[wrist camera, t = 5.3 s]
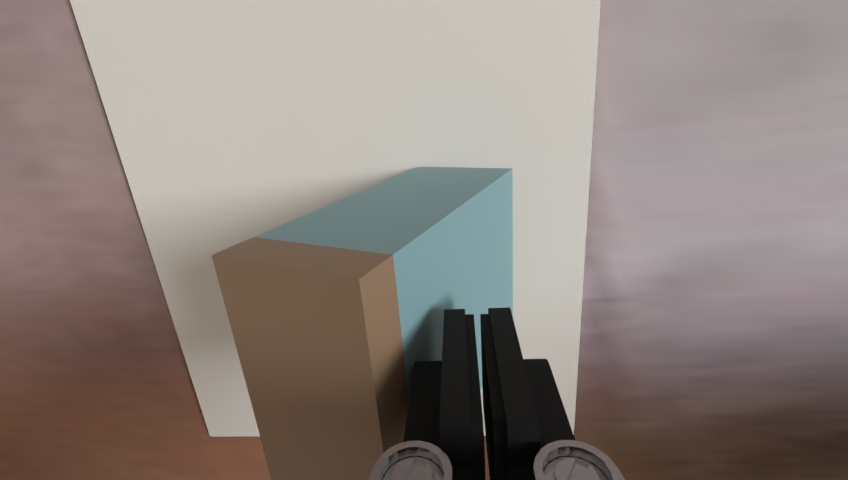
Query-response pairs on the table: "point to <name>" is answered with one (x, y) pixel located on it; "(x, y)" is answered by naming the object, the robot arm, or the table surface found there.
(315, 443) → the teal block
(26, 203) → the table surface
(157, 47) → the board
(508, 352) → the robot arm
